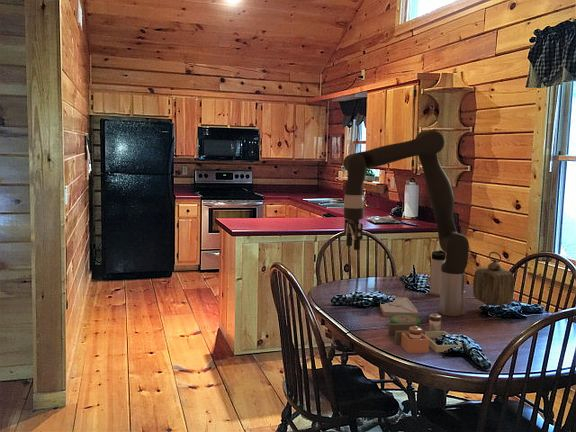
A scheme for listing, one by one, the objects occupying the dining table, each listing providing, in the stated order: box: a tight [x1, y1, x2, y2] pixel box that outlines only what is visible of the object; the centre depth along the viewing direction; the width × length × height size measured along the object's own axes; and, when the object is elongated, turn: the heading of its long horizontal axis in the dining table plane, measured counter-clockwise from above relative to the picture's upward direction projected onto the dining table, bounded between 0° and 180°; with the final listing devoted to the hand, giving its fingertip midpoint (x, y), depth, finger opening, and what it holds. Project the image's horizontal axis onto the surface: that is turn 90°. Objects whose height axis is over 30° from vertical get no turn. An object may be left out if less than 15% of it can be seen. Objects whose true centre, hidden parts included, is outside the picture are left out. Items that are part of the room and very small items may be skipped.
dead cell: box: [409, 326, 423, 339], centre depth 178 cm, size 4×4×8 cm
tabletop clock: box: [472, 251, 515, 310], centre depth 222 cm, size 14×9×25 cm, turn 20°
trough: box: [425, 330, 463, 353], centre depth 183 cm, size 9×14×3 cm, turn 8°
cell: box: [428, 312, 442, 331], centre depth 194 cm, size 4×4×8 cm
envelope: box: [379, 296, 420, 318], centre depth 226 cm, size 24×2×14 cm
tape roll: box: [389, 315, 421, 328], centre depth 204 cm, size 11×11×3 cm
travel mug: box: [429, 249, 446, 297], centre depth 247 cm, size 6×7×20 cm
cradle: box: [387, 323, 426, 346], centre depth 188 cm, size 10×11×5 cm
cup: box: [400, 332, 430, 354], centre depth 178 cm, size 7×7×5 cm
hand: (352, 247), depth 209 cm, fingers open, 8 cm apart
